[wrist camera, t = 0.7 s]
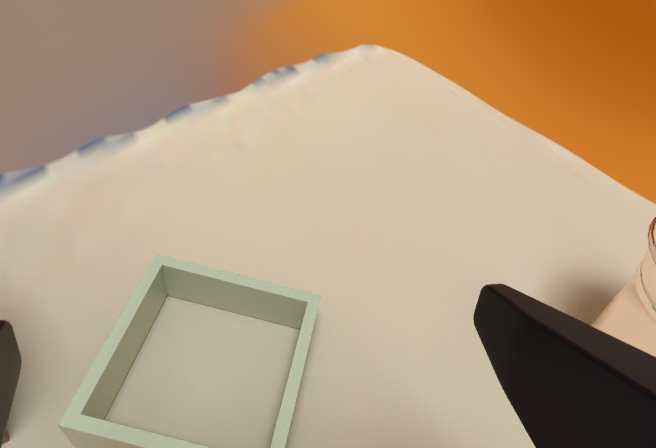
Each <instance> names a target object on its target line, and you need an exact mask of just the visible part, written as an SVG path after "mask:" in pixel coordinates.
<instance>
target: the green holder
mask: <svg viewBox="0 0 656 448" xmlns="http://www.w3.org/2000/svg"><path fill="white" fill-rule="evenodd" d="M167 295H168V296H172V297H176V298H180V299H184V300H187V301H191V302H195V303H199V304H203V305H207V306H211V307H215V308H219V309H223V310H227V311H231V312H234V313H238V314H242V315H246V316H250V317H254V318H258V319H262V320H266V321H270V322H274V323H278V324H282V325H285V326H289V327H293V328H297V329H301V330H300V334H299V338H298V342H297V346H296V349H295V353H294V357H293V361H292V365H291V369H290V373H289V377H288V381H287V384H286V388H285V392H284V396H283V400H282V404H281V408H280V412H279V416H278V419H277V423H276V427H275V431H274V435H273V439H272V443H271V447H270V448H285V445H286V440H287V436H288V432H289V428H290V424H291V419H292V415H293V411H294V407H295V402H296V398H297V394H298V390H299V386H300V381H301V377H302V373H303V369H304V365H305V360H306V356H307V352H308V348H309V343H310V339H311V335H312V331H313V327H314V322H315V318H316V314H317V310H318V306H319V301H320V297H321V296H320V295H317V294H313V293H309V292H305V291H301V290H297V289H293V288H289V287H285V286H281V285H277V284H273V283H269V282H266V281H262V280H258V279H254V278H250V277H246V276H242V275H238V274H234V273H230V272H226V271H222V270H218V269H214V268H211V267H207V266H203V265H199V264H195V263H191V262H187V261H183V260H179V259H175V258H171V257H167V256H163V255H160V254H155V256H154V258H153V259H152V261H151V263H150V265H149V266H148V268H147V270H146V272H145V273H144V275H143V277H142V279H141V280H140V282H139V284H138V286H137V287H136V289H135V291H134V293H133V294H132V296H131V298H130V300H129V301H128V303H127V305H126V307H125V308H124V310H123V312H122V314H121V315H120V317H119V319H118V321H117V322H116V324H115V326H114V328H113V329H112V331H111V333H110V335H109V336H108V338H107V340H106V342H105V344H104V345H103V347H102V349H101V351H100V352H99V354H98V356H97V358H96V359H95V361H94V363H93V365H92V366H91V368H90V370H89V372H88V373H87V375H86V377H85V379H84V380H83V382H82V384H81V386H80V387H79V389H78V391H77V393H76V394H75V396H74V398H73V400H72V401H71V403H70V405H69V407H68V408H67V410H66V412H65V414H64V415H63V417H62V419H61V421H60V422H59V424H58V426H59V427H60V429H61V430H62V431H63V432H64V434H65V435H66V436H67V437H68V438H69V440H70V441H71V442H72V443H73V445H74V446H75V447H77V448H210V447H206V446H202V445H198V444H194V443H190V442H187V441H183V440H179V439H175V438H171V437H167V436H163V435H159V434H155V433H151V432H147V431H144V430H140V429H136V428H132V427H128V426H124V425H120V424H116V423H112V422H108V421H105V420H104V418H105V416H106V414H107V412H108V411H109V409H110V407H111V405H112V403H113V401H114V399H115V397H116V395H117V393H118V391H119V389H120V387H121V385H122V383H123V381H124V379H125V377H126V375H127V373H128V371H129V369H130V367H131V365H132V363H133V361H134V359H135V357H136V355H137V354H138V352H139V350H140V348H141V346H142V344H143V342H144V340H145V338H146V336H147V334H148V332H149V330H150V328H151V326H152V324H153V322H154V320H155V318H156V316H157V314H158V312H159V310H160V308H161V306H162V304H163V302H164V300H165V298H166V297H167Z"/></svg>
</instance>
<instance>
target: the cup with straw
mask: <svg viewBox="0 0 656 448" xmlns="http://www.w3.org/2000/svg"><path fill="white" fill-rule="evenodd" d="M647 241H648V251H647V252H646V254H645V255H644V258H643V260H642V261H641V262H640V264H639V265H638V267H637V268H636V272H635V274H634V275H633V276H632V277H631V278H630V280H629V281H628V282H627V283H626V284H625V285H624V287H623V288H622V289H621V290H620V291H619V292H618V294H617V295H616V296H615V297H614V298H613V299H612V301H611V302H610V303H609V304H608V305H607V306H606V308H605V309H604V310H603V311H602V312H601V313H600V315H599V316H598V317H597V318H596V319H595V321H594V322H593V323H592V324H591V325H590V326H592V327H594V328H596V329H598V330H600V331H603V332H605V333H607V334H609V335H611V336H613V337H615V338H617V339H619V340H621V341H623V342H625V343H628V344H630V345H632V346H634V347H636V348H638V349H640V350H642V351H644V352H646V353H648V354H651V355H653V356H655V357H656V217H655V218H654V219H653V221H652V222H651V224H650V225H649V229H648V234H647Z"/></svg>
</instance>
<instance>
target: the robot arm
mask: <svg viewBox="0 0 656 448" xmlns="http://www.w3.org/2000/svg"><path fill="white" fill-rule="evenodd" d="M474 325H475V328H476V330H477V332H478V335H479V337H480V339H481V341H482V344H483V346H484V348H485V350H486V353H487V355H488V357H489V360H490V362H491V364H492V366H493V369H494V371H495V373H496V376H497V378H498V380H499V382H500V384H501V386H502V388H503V390H504V392H505V394H506V396H507V398H508V399H509V401H510V403H511V405H512V406H513V408H514V410H515V412H516V414H517V415H518V417H519V419H520V421H521V422H522V424H523V426H524V428H525V430H526V431H527V433H528V435H529V437H530V438H531V440H532V442H533V444H534V445H535V447H536V448H656V357H655V356H653V355H651V354H648V353H646V352H644V351H642V350H640V349H638V348H636V347H634V346H632V345H630V344H628V343H625V342H623V341H621V340H619V339H617V338H615V337H613V336H611V335H609V334H607V333H605V332H603V331H600V330H598V329H596V328H594V327H592V326H590V325H588V324H586V323H584V322H582V321H580V320H577V319H575V318H573V317H571V316H569V315H567V314H565V313H563V312H561V311H559V310H557V309H554V308H552V307H550V306H548V305H546V304H544V303H542V302H540V301H538V300H536V299H534V298H532V297H529V296H527V295H525V294H523V293H521V292H519V291H517V290H515V289H513V288H511V287H509V286H506V285H504V284H488V285H485V286H484V287H483V288H482V289H481V292H480V295H479V298H478V302H477V305H476V309H475V312H474ZM20 370H21V355H20V351H19V348H18V345H17V341H16V338H15V335H14V331H13V328H12V325H11V324H10V322H8V321H6V320H0V448H1V445H2V442H3V438H4V434H5V430H6V426H7V422H8V418H9V414H10V410H11V406H12V402H13V398H14V394H15V390H16V386H17V382H18V378H19V374H20Z"/></svg>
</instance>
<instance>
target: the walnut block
mask: <svg viewBox="0 0 656 448" xmlns="http://www.w3.org/2000/svg"><path fill="white" fill-rule="evenodd" d="M8 441H9V438H8V434H7V430H5V434H4V438H3V442H2V444H3V443H6V442H8Z"/></svg>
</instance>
